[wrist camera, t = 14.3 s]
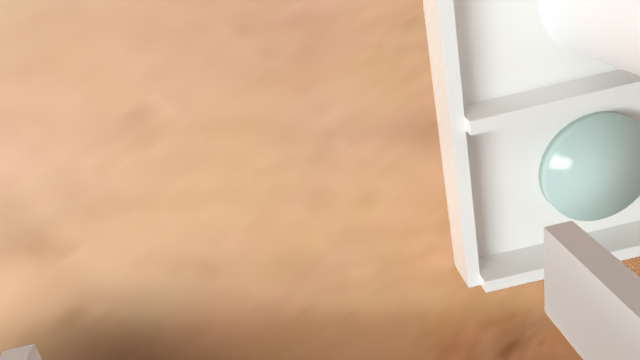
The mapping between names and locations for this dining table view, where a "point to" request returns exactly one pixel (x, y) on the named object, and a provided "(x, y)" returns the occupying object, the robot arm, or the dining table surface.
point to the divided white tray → (513, 133)
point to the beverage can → (596, 29)
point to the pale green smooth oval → (593, 166)
